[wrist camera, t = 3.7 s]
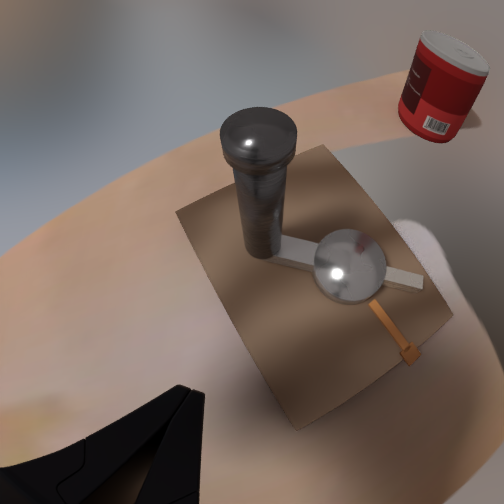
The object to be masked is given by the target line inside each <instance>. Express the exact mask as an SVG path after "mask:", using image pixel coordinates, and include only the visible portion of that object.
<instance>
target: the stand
mask: <svg viewBox="0 0 504 504" xmlns="http://www.w3.org/2000/svg"><path fill="white" fill-rule="evenodd" d="M175 212H176V214H177V216H178V218H179V220H180V223H181V225H182V227H183V229H184V231H185V233H186V235H187V237H188V239H189V241H190V243H191V245H192V247H193V249H194V251H195V253H196V254H197V256H198V258H199V260H200V262H201V264H202V266H203V268H204V270H205V272H206V274H207V276H208V278H209V280H210V282H211V283H212V285H213V287H214V289H215V291H216V293H217V295H218V297H219V299H220V300H221V302H222V304H223V306H224V308H225V310H226V312H227V313H228V315H229V317H230V319H231V321H232V323H233V324H234V326H235V328H236V330H237V332H238V333H239V335H240V337H241V339H242V341H243V342H244V344H245V346H246V348H247V349H248V351H249V353H250V355H251V356H252V358H253V360H254V362H255V363H256V365H257V367H258V369H259V370H260V372H261V374H262V376H263V377H264V379H265V381H266V382H267V384H268V386H269V388H270V389H271V391H272V393H273V394H274V396H275V398H276V399H277V401H278V403H279V404H280V406H281V408H282V409H283V411H284V413H285V414H286V416H287V417H288V419H289V421H290V422H291V424H292V426H293V427H294V429H295V430H296V431H298V430H299V429H301V428H303V427H305V426H306V425H308V424H310V423H312V422H313V421H315V420H317V419H318V418H320V417H322V416H323V415H325V414H327V413H328V412H330V411H331V410H333V409H335V408H336V407H338V406H339V405H341V404H342V403H344V402H345V401H347V400H348V399H350V398H351V397H353V396H354V395H356V394H357V393H359V392H360V391H362V390H363V389H365V388H366V387H367V386H369V385H370V384H372V383H373V382H374V381H376V380H377V379H378V378H380V377H381V376H382V375H384V374H385V373H386V372H388V371H389V370H390V369H392V368H393V367H394V366H396V365H397V364H398V363H399V362H401V361H402V360H403V359H404V360H405V362H406V363H407V365H408V366H410V365H411V364H412V363H413V362H414V361H415V360H416V359H417V358H418V357H419V356H420V355H421V353H420V352H419V350H418V349H417V348H418V347H419V346H420V345H421V344H422V343H424V342H425V341H426V340H427V339H428V338H429V337H430V336H432V335H433V334H434V333H435V332H436V331H437V330H438V329H439V328H440V327H442V326H443V325H444V324H445V323H446V322H447V321H448V320H449V319H450V318H451V317H452V316H453V313H452V312H451V310H450V308H449V307H448V305H447V303H446V302H445V300H444V299H443V297H442V295H441V294H440V292H439V291H438V289H437V288H436V286H435V285H434V283H433V282H432V280H431V279H430V277H429V276H428V274H427V273H426V271H425V270H424V268H423V267H422V265H421V264H420V262H419V261H418V260H417V258H416V257H415V255H414V254H413V253H412V251H411V250H410V248H409V247H408V246H407V244H406V243H405V242H404V240H403V239H402V237H401V236H400V235H399V233H398V232H397V231H396V230H395V228H394V227H393V226H392V224H391V223H390V222H389V220H388V219H387V218H386V217H385V215H384V214H383V213H382V212H381V210H380V209H379V208H378V207H377V205H376V204H375V203H374V202H373V200H372V199H371V198H370V197H369V196H368V194H367V193H366V192H365V191H364V190H363V188H362V187H361V186H360V185H359V184H358V183H357V182H356V180H355V179H354V178H353V177H352V176H351V175H350V173H349V172H348V171H347V170H346V169H345V168H344V167H343V165H342V164H341V163H340V162H339V161H338V160H337V159H336V158H335V157H334V156H333V154H332V153H331V152H330V151H329V150H328V149H327V148H326V147H325V146H324V145H323V144H322V145H320V146H317V147H315V148H313V149H310V150H308V151H305V152H303V153H300V154H298V155H296V156H294V158H293V160H292V161H291V162H290V164H289V165H287V175H286V188H285V201H284V213H283V225H282V235H285V236H290V237H294V238H298V239H302V240H306V241H310V242H315V243H320V242H321V240H322V239H323V238H324V237H325V236H327V235H328V234H330V233H332V232H334V231H337V230H341V229H353V230H357V231H360V232H363V233H365V234H367V235H368V236H370V237H371V238H372V239H373V240H374V241H375V242H376V243H377V244H378V245H379V246H380V248H381V250H382V252H383V254H384V256H385V260H386V266H388V267H392V268H396V269H400V270H403V271H407V272H411V273H415V274H419V275H423V289H422V290H421V291H419V292H418V293H413V292H408V291H404V290H400V289H396V288H392V287H388V286H384V285H381V287H380V288H379V289H378V290H377V291H376V292H375V293H374V294H373V295H372V296H371V297H370V298H368V299H367V300H365V301H364V302H361V303H359V304H354V305H344V304H339V303H336V302H334V301H332V300H330V299H328V298H327V297H326V296H324V295H323V294H322V293H321V292H320V290H319V289H318V288H317V286H316V284H315V282H314V279H313V276H312V272H309V271H305V270H301V269H297V268H293V267H289V266H285V265H281V264H277V263H273V262H269V261H265V260H261V259H257V258H254V257H252V256H251V255H250V254H249V253H248V252H247V250H246V248H245V244H244V237H243V231H242V225H241V218H240V212H239V205H238V199H237V192H236V186H235V183H233V184H231V185H228V186H226V187H224V188H222V189H220V190H218V191H216V192H214V193H212V194H210V195H208V196H206V197H203V198H201V199H199V200H197V201H195V202H193V203H191V204H189V205H187V206H185V207H183V208H181V209H179V210H177V211H175Z"/></svg>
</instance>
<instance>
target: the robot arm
mask: <svg viewBox="0 0 504 504" xmlns="http://www.w3.org/2000/svg"><path fill="white" fill-rule="evenodd" d="M204 403H205V394H204V393H203V392H200V391H197V390H191V389H190V388H188V387H186V386H183V385H176V386H174V387H173V388H171V389H169V390H168V391H166V392H164V393H163V394H161V395H159V396H158V397H156V398H155V399H153V400H151V401H150V402H148V403H146V404H144V405H143V406H141V407H139V408H138V409H136V410H134V411H133V412H131V413H129V414H127V415H126V416H124V417H122V418H120V419H119V420H117V421H115V422H113V423H111V424H110V425H108V426H106V427H104V428H102V429H101V430H99V431H97V432H95V433H93V434H91V435H89V436H88V437H86V438H85V439H82V440H80V441H78V442H76V443H74V444H72V445H70V446H68V447H66V448H63V449H61V450H59V451H56V452H54V453H51V454H48V455H45V456H43V457H39V458H36V459H33V460H30V461H27V462H23V463H20V464H17V465H13V466H9V467H0V504H199V496H200V493H199V491H200V470H201V450H202V433H203V417H204Z"/></svg>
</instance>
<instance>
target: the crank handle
mask: <svg viewBox="0 0 504 504" xmlns="http://www.w3.org/2000/svg"><path fill="white" fill-rule="evenodd" d="M220 139H221V145H222V150H223V155H224V158H225V160H226V162H227V163H228V164H229V165H230V166H231V167H232V168H233V173H234V180H235V186H236V192H237V199H238V205H239V212H240V218H241V225H242V231H243V237H244V244H245V248H246V250H247V252H248V253H249V254H250V255H251V256H252V257H254V258H257V259H261V260H265V261H269V262H273V263H277V264H281V265H285V266H289V267H293V268H297V269H301V270H305V271H309V272H312V276H313V279H314V282H315V284H316V286H317V288H318V289H319V290H320V292H321V293H322V294H323V295H324V296H326V297H327V298H328V299H330V300H332V301H334V302H336V303H339V304H344V305H354V304H359V303H361V302H364V301H365V300H367V299H368V298H370V297H371V296H372V295H373V294H374V293H375V292H376V291H377V290H378V289H379V288H380V287H381V285H384V286H388V287H392V288H396V289H400V290H404V291H408V292H413V293H418V292H419V291H421V290H422V289H423V275H419V274H415V273H411V272H407V271H403V270H400V269H396V268H392V267H388V266H386V260H385V256H384V254H383V252H382V250H381V248H380V246H379V245H378V244H377V243H376V242H375V241H374V240H373V239H372V238H371V237H370V236H368V235H367V234H365V233H363V232H360V231H357V230H353V229H341V230H337V231H334V232H332V233H330V234H328V235H327V236H325V237H324V238H323V239H322V240H321V242H320V243H315V242H310V241H306V240H302V239H298V238H294V237H290V236H285V235H282V225H283V213H284V201H285V188H286V175H287V165H289V164H290V162H291V161H292V160H293V158H294V155H295V151H296V141H297V128H296V125H295V123H294V122H293V120H292V119H291V118H290V117H289V116H288V115H286V114H285V113H283V112H281V111H278V110H276V109H272V108H267V107H252V108H247V109H243V110H240V111H238V112H236V113H234V114H232V115H231V116H229V117H228V118H227V119H226V120H225V121H224V123H223V124H222V126H221V129H220Z"/></svg>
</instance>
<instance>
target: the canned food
mask: <svg viewBox="0 0 504 504" xmlns="http://www.w3.org/2000/svg"><path fill="white" fill-rule="evenodd" d="M489 70H490V67H489V65H488V64H487V62H486V61H485V59H484V58H483V57H482V56H481V55H480V54H479V53H477V52H476V51H474V49H472V48H471V47H469V46H468V45H466V44H465V43H463V42H461V41H460V40H458V39H456V38H454V37H451V36H449V35H447V34H444V33H441V32H437V31H431V30H426V31H423V33H422V35H421V37H420V40H419V43H418V45H417V49H416V52H415V55H414V59H413V62H412V65H411V68H410V71H409V74H408V77H407V80H406V83H405V86H404V89H403V92H402V95H401V98H400V101H399V104H398V113H399V117H400V119H401V121H402V122H403V123H404V125H405V126H406V127H407V128H408V129H409V130H411V131H412V132H413V133H415V134H416V135H418V136H419V137H421V138H423V139H425V140H428V141H431V142H435V143H446V142H449V141H450V140H451V139H452V138H454V137H455V136H456V134H457V132H458V131H459V129H460V127H461V126H462V124H463V122H464V120H465V118H466V117H467V115H468V113H469V111H470V109H471V107H472V106H473V104H474V102H475V100H476V98H477V96H478V94H479V92H480V90H481V88H482V86H483V84H484V82H485V80H486V78H487V75H488V73H489Z"/></svg>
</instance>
